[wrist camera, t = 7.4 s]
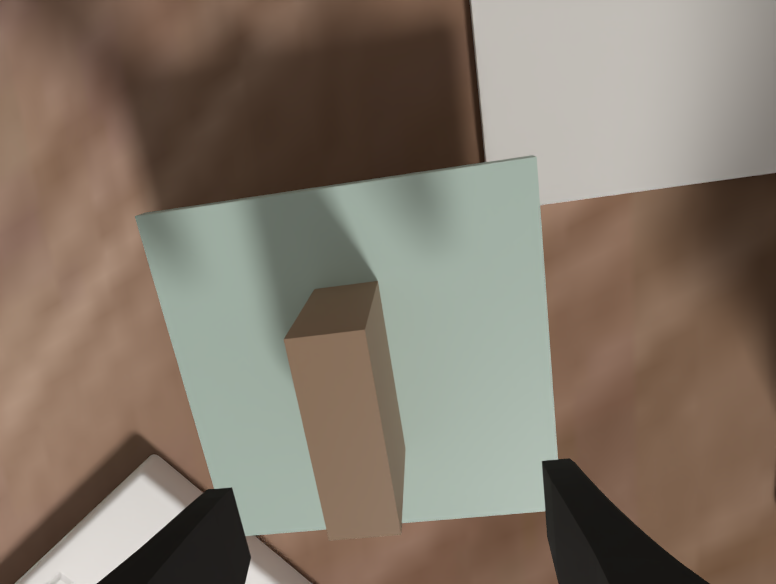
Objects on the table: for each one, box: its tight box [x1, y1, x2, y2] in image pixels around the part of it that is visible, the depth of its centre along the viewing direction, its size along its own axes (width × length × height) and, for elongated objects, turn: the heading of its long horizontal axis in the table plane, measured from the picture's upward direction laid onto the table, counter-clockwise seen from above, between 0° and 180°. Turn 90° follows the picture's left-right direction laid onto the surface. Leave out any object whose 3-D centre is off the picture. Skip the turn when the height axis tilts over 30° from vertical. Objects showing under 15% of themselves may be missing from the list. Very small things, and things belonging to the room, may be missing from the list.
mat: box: [470, 0, 776, 205], centre depth 18 cm, size 12×12×1 cm
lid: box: [135, 155, 558, 541], centre depth 16 cm, size 12×12×5 cm
